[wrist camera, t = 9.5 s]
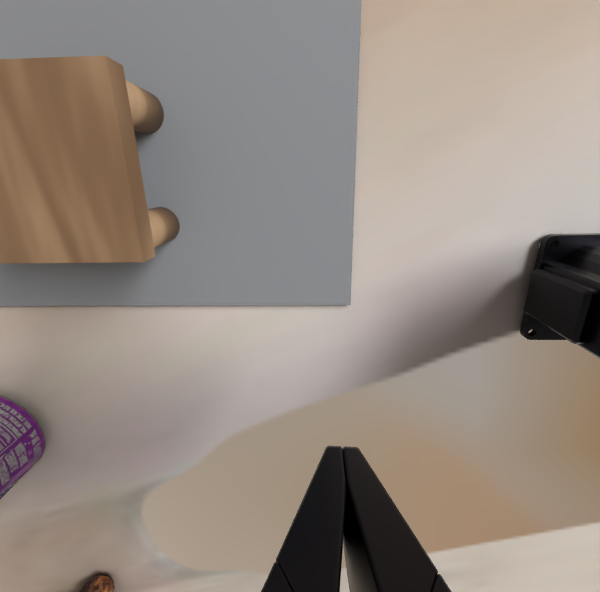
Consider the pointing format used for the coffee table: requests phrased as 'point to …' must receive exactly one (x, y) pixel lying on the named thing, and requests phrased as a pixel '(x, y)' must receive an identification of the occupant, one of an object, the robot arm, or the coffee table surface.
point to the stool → (75, 163)
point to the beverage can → (17, 443)
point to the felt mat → (218, 147)
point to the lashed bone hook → (99, 585)
